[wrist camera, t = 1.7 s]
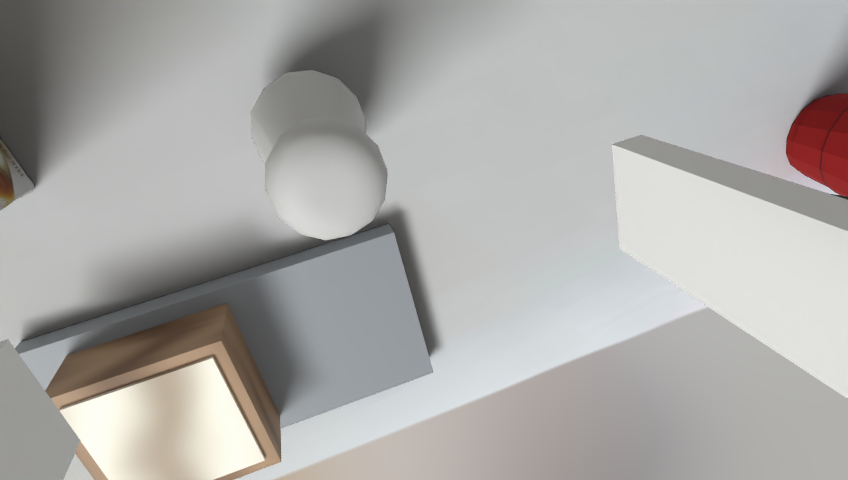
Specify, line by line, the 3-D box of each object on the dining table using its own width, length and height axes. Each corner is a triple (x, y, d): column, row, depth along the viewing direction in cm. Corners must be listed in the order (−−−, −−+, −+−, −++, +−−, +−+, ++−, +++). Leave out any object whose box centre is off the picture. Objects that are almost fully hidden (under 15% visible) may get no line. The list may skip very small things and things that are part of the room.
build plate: (389, 223, 33) (393, 232, 32) (427, 359, 38) (433, 372, 36) (20, 342, 30) (8, 357, 28) (113, 473, 35) (106, 492, 33)
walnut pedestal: (227, 302, 31) (220, 342, 27) (280, 415, 34) (281, 464, 31) (66, 355, 29) (36, 405, 26) (140, 466, 33) (123, 523, 29)
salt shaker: (229, 122, 28) (199, 195, 17) (300, 42, 28) (321, 60, 16) (312, 191, 31) (336, 296, 19) (379, 119, 30) (446, 182, 19)
